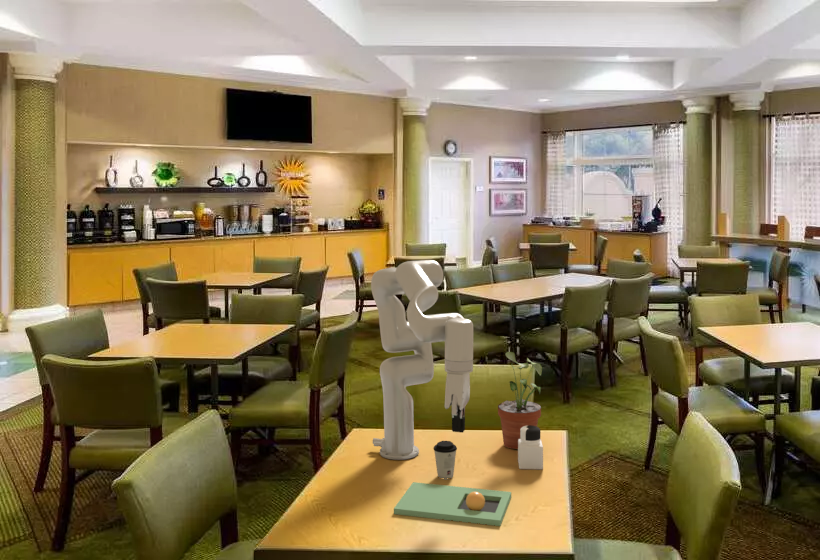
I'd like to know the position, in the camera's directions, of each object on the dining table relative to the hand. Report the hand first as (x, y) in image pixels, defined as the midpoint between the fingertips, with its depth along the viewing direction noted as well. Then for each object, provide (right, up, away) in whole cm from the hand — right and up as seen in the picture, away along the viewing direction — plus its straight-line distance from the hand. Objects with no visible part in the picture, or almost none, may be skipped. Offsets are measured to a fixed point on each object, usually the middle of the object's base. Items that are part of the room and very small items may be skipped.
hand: (458, 430), depth 195 cm
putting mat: (-1, -20, -2) cm, 20 cm away
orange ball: (+4, -17, -6) cm, 19 cm away
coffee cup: (-3, -17, +18) cm, 26 cm away
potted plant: (+24, -14, +44) cm, 52 cm away
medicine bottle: (+24, -16, +26) cm, 39 cm away
